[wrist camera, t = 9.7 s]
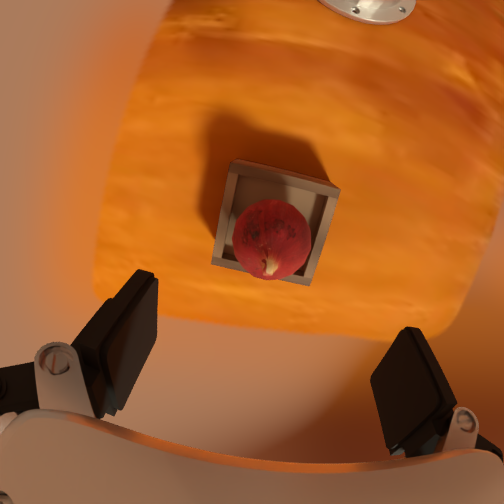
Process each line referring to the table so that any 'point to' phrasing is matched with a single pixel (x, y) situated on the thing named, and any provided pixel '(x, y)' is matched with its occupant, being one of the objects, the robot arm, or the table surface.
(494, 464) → the robot arm
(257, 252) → the onion
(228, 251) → the base
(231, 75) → the table surface
